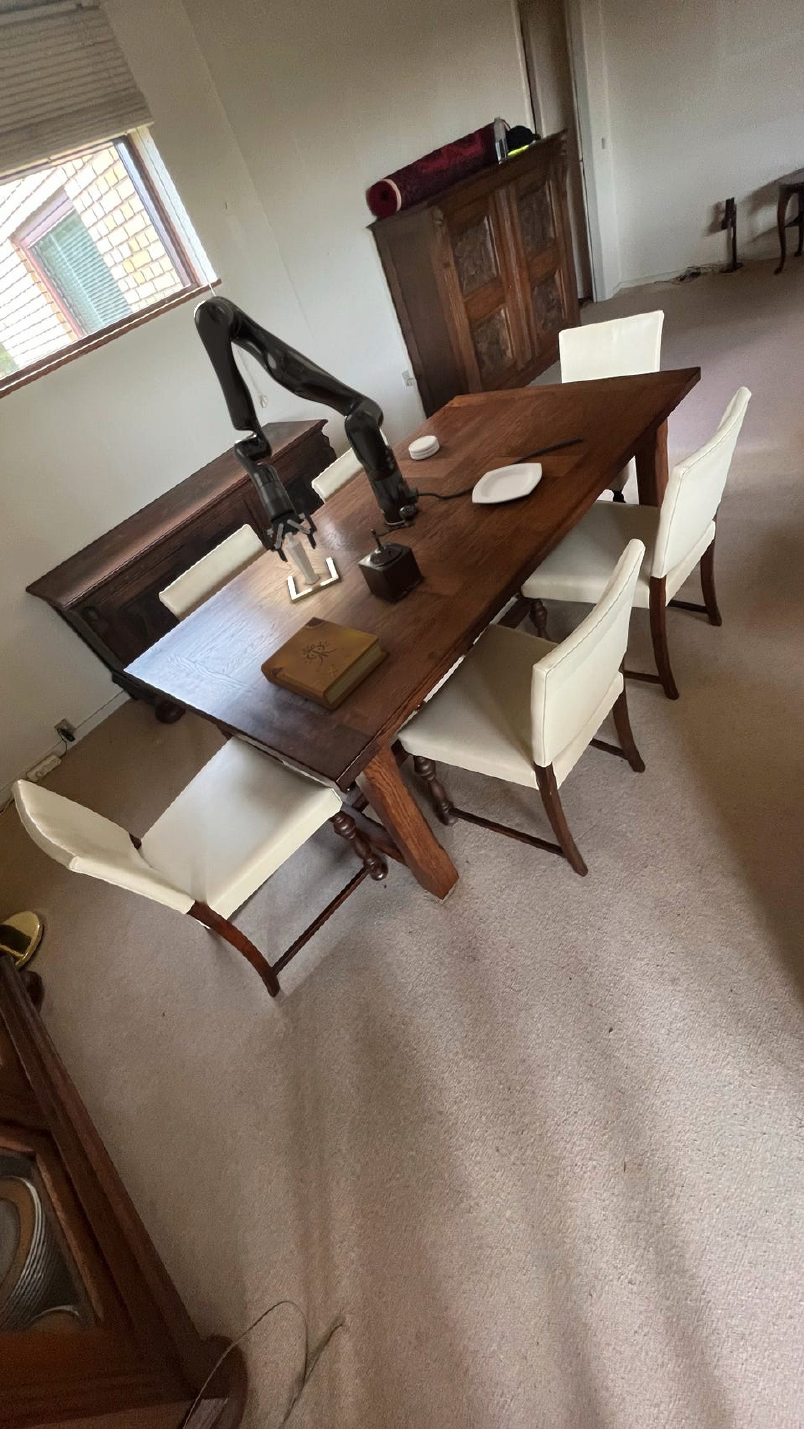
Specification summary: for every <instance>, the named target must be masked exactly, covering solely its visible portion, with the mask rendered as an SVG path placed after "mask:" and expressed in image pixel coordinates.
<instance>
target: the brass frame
mask: <svg viewBox="0 0 804 1429" xmlns="http://www.w3.org/2000/svg"><path fill="white" fill-rule="evenodd" d="M326 562H327V566H328V568H329V572H330V574H331V578H329V579H327V580H326V581H323V582H321V583H318V584H316V585H314V586H313V587H311V588H309V589H306V590H304V591H302V592H300V593H297V592H298V591H297V589H296V585H295V580H294V578H293V576H292V575H291V576H288V577H287V578H286V580H287V584H288V589H289V592H290V597H291V601H292V602H293V603H294V604H295V603H296V602H298V601H300V600H303V599H304V598H306V597H309V596H311V595H314V594H315V593H317V592H320V591H322V590H324V589H326V588H328V587H330V586H333V585H334V584H336V583H339V582H340V581H341V580H340V577H339V574H338V571H337V569H336V565H335V563H334V560H333V558H332V556H330V557H328V558H326Z"/></svg>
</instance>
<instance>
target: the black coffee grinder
mask: <svg viewBox="0 0 804 1429" xmlns="http://www.w3.org/2000/svg"><path fill="white" fill-rule="evenodd" d="M416 515H417V509H416V510H415V508H414V507H412V506H405V507H403V508H402V509H401V510H400V516H401V517H402V518H403V519H404V523H403V524H401V525H397V526H392V527H391V528H388V529H386V530H384V531H381V532H380V533H377V530H376V529H375V528H372V529H371V530H370V534H371V535H372V539H374V540H375V543H376V545H377V547H376V548H375V549H374V550H372V552H370V553H369V554H368V555H366V556H365V557H363V558H362V559H361V560H360V561H358V562H357V565H358V567H359V569H360V572H361V574H362V576H363V578H364V580H365V583H366V585H367V587H368V589H369V592H370V593H371V594H373V595H375V597H379V598H382V599H383V600H387V601H389V602H391V603H396V602H398V601H399V600H400V599H402V598H403V597H404V596H406V595H407V594H408V593H409V592H411V591H412V590H413V589H414V588H415V587H416V586H418V584H419V583H420V582H421V581H422V580H423V579H424V576H423V575H422V572H421V570H420V567H419V564H418V562H417V560H416V557H415V554H414V552H413V549H412V548H411V546H407V545H403V544H400V543H396V542H392V541H388V540H386V541H384V542H383V543H381V541H380V539H379V538H381V537H384V536H386V535H388V534H390V533H392V532H395V531H398V530H403V529H406V528H407V529H410V528H411V527H414V526H415V525H416V522H415V520H414V519H415V516H416Z"/></svg>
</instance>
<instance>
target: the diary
mask: <svg viewBox="0 0 804 1429" xmlns="http://www.w3.org/2000/svg"><path fill="white" fill-rule="evenodd" d="M379 641H380V637H379V636H378V635H375V634H372V633H369V632H365V631H362V630H358V629H355V628H352V627H348V626H346V625H342V624H340V623H339V624H338V623H335V622H332V621H328V620H326V619H322V618H319V617H316V616H313V617H312V618H310V620H308V622H306V623H305V624H304V625H303V626H301V627H300V628H299V630H298V631H297V632H295V633H294V634H293V635H292V636H291V637H290V638H289V639H287V641H285V642H284V644H283V645H281V646H280V647H279V648H278V649H277V650H276V651H275V652H274V653H273V654H272V655H270V656H269V657H268V658H267V659H266V660H265V661H264V662H263V663H262V664H261V665H260V671H261V673H262V675H263V676H264V678H265V679H266V680H267V682H268V683H270V684H273V685H275V686H277V687H279V688H282V689H284V690H286V691H288V692H291V693H292V694H295V695H297V696H299V697H302V698H304V699H306V700H308V701H311V702H312V703H314V704H317V705H319V706H321V707H323V708H326V709H328V710H333V711H334V710H336V708H337V707H339V705H340V704H342V702H343V701H345V699H347V697H348V696H350V694H351V693H352V692H353V691H354V690H355V689H356V688H357V687H358V686H359V685H360V684H361V683H362V682H363V681H364V680H365V679H366V677H367V676H369V675H370V674H371V673H372V672H373V670H374V669H375V668H376V667H377V666H378V665H379V664H380V663H381V662H382V661H383V660H384V659H385V658H386V657H387V656H388V654H387V652H386V651H383V650H381V648H380V647H379V644H378V642H379Z"/></svg>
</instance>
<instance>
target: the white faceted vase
mask: <svg viewBox="0 0 804 1429" xmlns="http://www.w3.org/2000/svg"><path fill="white" fill-rule="evenodd" d="M285 537H286V538H285V540H286V541H287V543H286V545H285V547H284V548H285V550H286V551H287V553H288V554H289V556H290V558H291V560H293V562H294V563H295V565H296V566H297V568H298V570H299V571H300V573H301V575H303V577H304V579H305V582H306V585H314V584H315V583H316V582H318V580H319V579H320V578H319V577H318V575H317V574H316V573H315V570H314V568H313V565H312V563H311V561H310V559H309V557H308V555H307V553H306V552H307V551H306V550H305V548H304V546H303V543H302V541H301V539H299V538H298V537H294V535H293V536H292V533H291V532H289V533H287V534H286V535H285Z"/></svg>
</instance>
